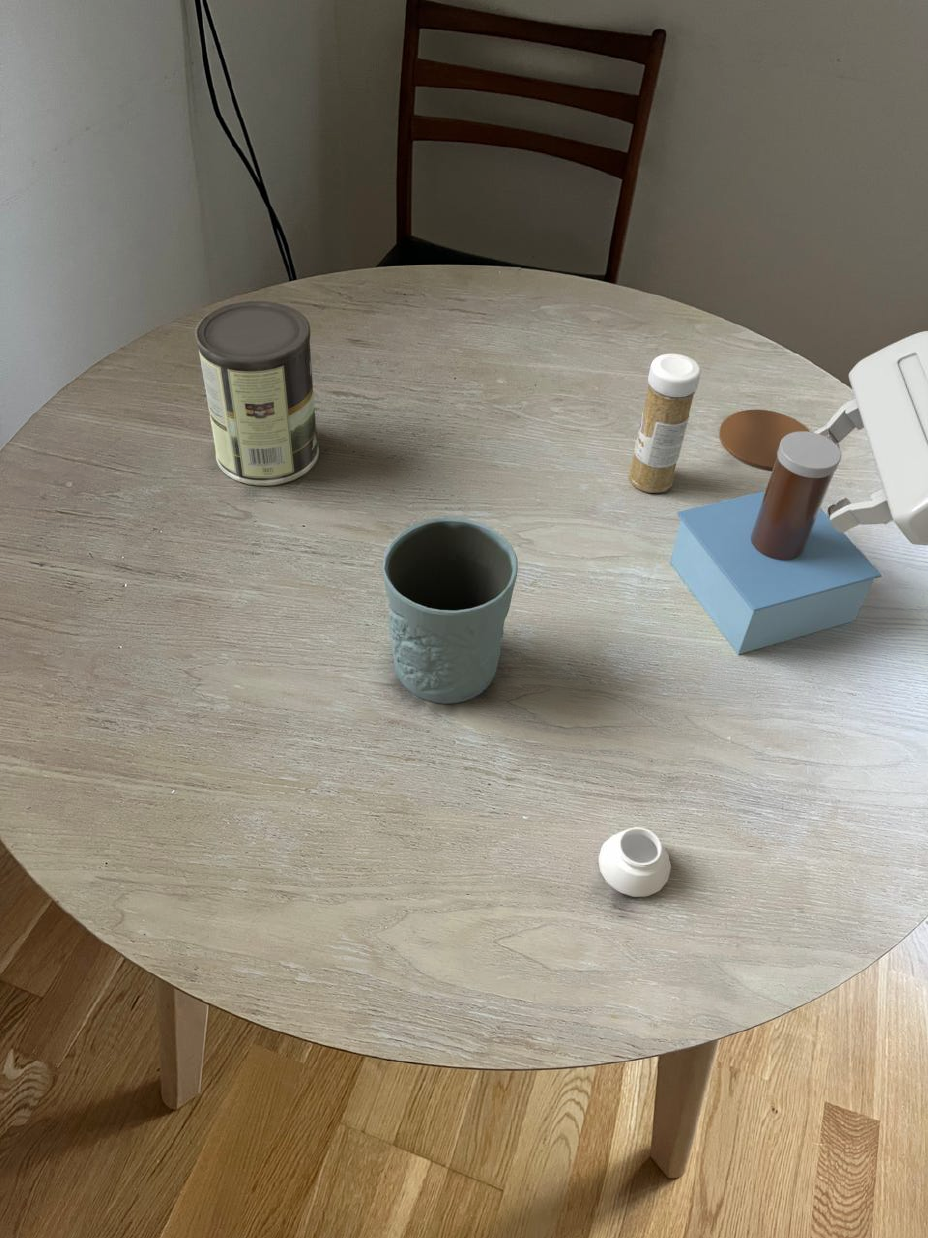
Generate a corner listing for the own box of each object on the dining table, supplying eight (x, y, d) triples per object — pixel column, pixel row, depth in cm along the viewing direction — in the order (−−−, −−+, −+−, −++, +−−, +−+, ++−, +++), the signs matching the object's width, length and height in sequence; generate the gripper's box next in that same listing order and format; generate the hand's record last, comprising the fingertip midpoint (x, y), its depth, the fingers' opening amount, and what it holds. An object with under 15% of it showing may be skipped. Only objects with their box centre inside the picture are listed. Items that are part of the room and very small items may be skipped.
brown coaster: (780, 405, 114) (781, 402, 114) (834, 459, 108) (835, 456, 107) (701, 422, 111) (702, 419, 111) (751, 479, 105) (752, 475, 105)
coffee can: (288, 411, 109) (276, 288, 99) (337, 464, 103) (331, 340, 93) (197, 443, 105) (175, 318, 94) (243, 500, 99) (225, 373, 89)
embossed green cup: (490, 614, 90) (500, 510, 82) (519, 705, 84) (533, 601, 75) (375, 629, 89) (372, 524, 80) (395, 723, 82) (394, 619, 73)
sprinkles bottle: (626, 465, 105) (649, 349, 96) (671, 467, 106) (698, 352, 96) (629, 494, 102) (653, 378, 93) (675, 497, 102) (704, 381, 93)
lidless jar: (593, 837, 76) (603, 900, 72) (599, 815, 73) (609, 879, 70) (661, 836, 76) (674, 898, 73) (668, 814, 74) (682, 877, 70)
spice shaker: (785, 518, 92) (818, 426, 84) (816, 554, 89) (854, 461, 81) (738, 530, 90) (768, 437, 83) (769, 566, 87) (802, 473, 80)
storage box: (779, 531, 100) (797, 482, 95) (859, 622, 92) (882, 574, 87) (664, 560, 96) (677, 511, 92) (736, 658, 88) (754, 609, 84)
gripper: (943, 289, 82) (785, 384, 89) (1017, 446, 68) (822, 543, 75) (977, 344, 85) (821, 431, 92) (1054, 505, 71) (864, 593, 78)
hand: (822, 483), depth 84 cm, fingers open, 8 cm apart
